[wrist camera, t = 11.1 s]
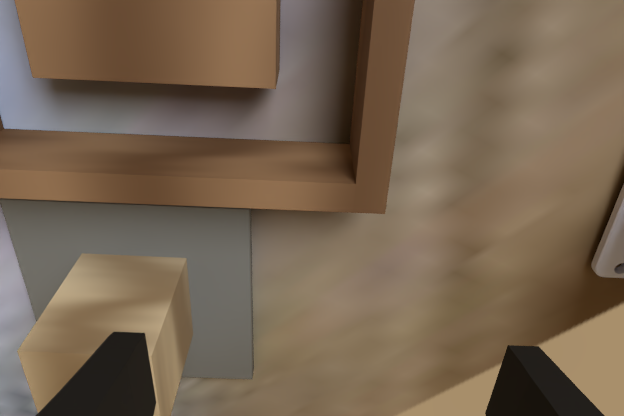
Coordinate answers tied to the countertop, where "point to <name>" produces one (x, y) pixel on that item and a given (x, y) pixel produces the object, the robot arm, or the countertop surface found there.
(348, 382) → the countertop surface
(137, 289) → the maple block
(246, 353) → the mat
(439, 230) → the countertop surface
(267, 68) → the slot box
